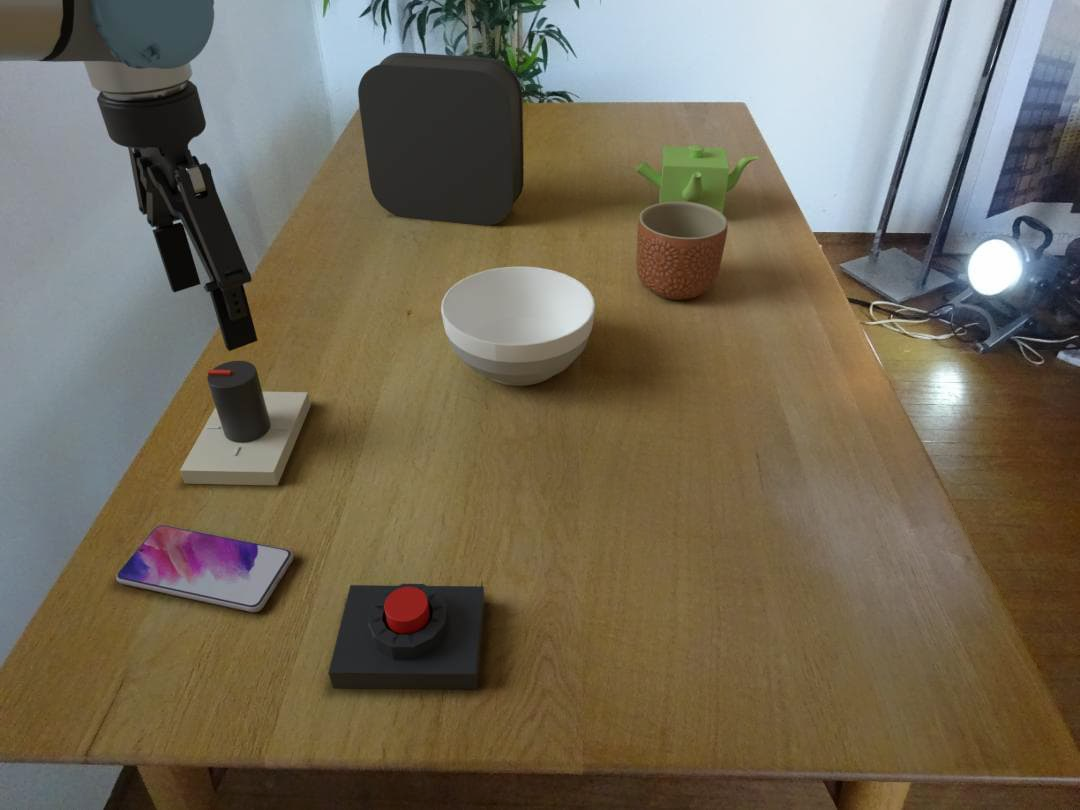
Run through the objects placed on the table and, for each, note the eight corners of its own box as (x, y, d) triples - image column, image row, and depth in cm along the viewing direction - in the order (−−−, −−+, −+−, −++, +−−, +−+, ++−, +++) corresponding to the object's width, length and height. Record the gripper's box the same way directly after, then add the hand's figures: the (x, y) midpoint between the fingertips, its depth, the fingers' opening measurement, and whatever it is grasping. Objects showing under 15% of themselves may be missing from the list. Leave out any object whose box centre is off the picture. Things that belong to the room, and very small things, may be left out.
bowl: (605, 333, 109) (609, 276, 104) (574, 417, 95) (575, 356, 90) (473, 314, 113) (470, 258, 108) (424, 392, 99) (417, 332, 93)
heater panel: (277, 485, 86) (273, 470, 84) (184, 484, 86) (179, 469, 85) (311, 405, 97) (307, 390, 95) (228, 403, 97) (224, 389, 96)
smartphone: (257, 610, 72) (111, 578, 75) (260, 616, 72) (114, 584, 75) (295, 549, 77) (158, 521, 80) (297, 555, 78) (160, 527, 81)
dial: (276, 414, 92) (261, 358, 87) (263, 443, 88) (247, 385, 83) (232, 414, 92) (216, 357, 87) (217, 442, 88) (199, 385, 83)
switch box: (332, 688, 67) (324, 659, 64) (353, 600, 74) (347, 571, 71) (477, 689, 67) (474, 660, 64) (484, 601, 74) (482, 572, 71)
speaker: (374, 214, 139) (353, 62, 124) (392, 194, 146) (374, 47, 131) (513, 228, 135) (510, 72, 119) (526, 207, 141) (524, 57, 126)
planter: (708, 316, 113) (719, 245, 106) (623, 300, 116) (628, 230, 109) (724, 275, 122) (735, 207, 115) (644, 262, 125) (650, 195, 119)
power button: (383, 634, 67) (380, 621, 65) (390, 599, 69) (387, 586, 68) (426, 634, 66) (425, 621, 65) (432, 599, 69) (430, 586, 68)
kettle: (750, 213, 140) (760, 149, 133) (695, 237, 132) (704, 171, 125) (684, 186, 149) (691, 125, 142) (630, 207, 141) (634, 144, 134)
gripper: (256, 115, 59) (308, 356, 72) (140, 46, 74) (201, 255, 87) (152, 138, 55) (227, 388, 68) (52, 60, 70) (129, 277, 83)
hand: (212, 314), depth 77 cm, fingers open, 13 cm apart
